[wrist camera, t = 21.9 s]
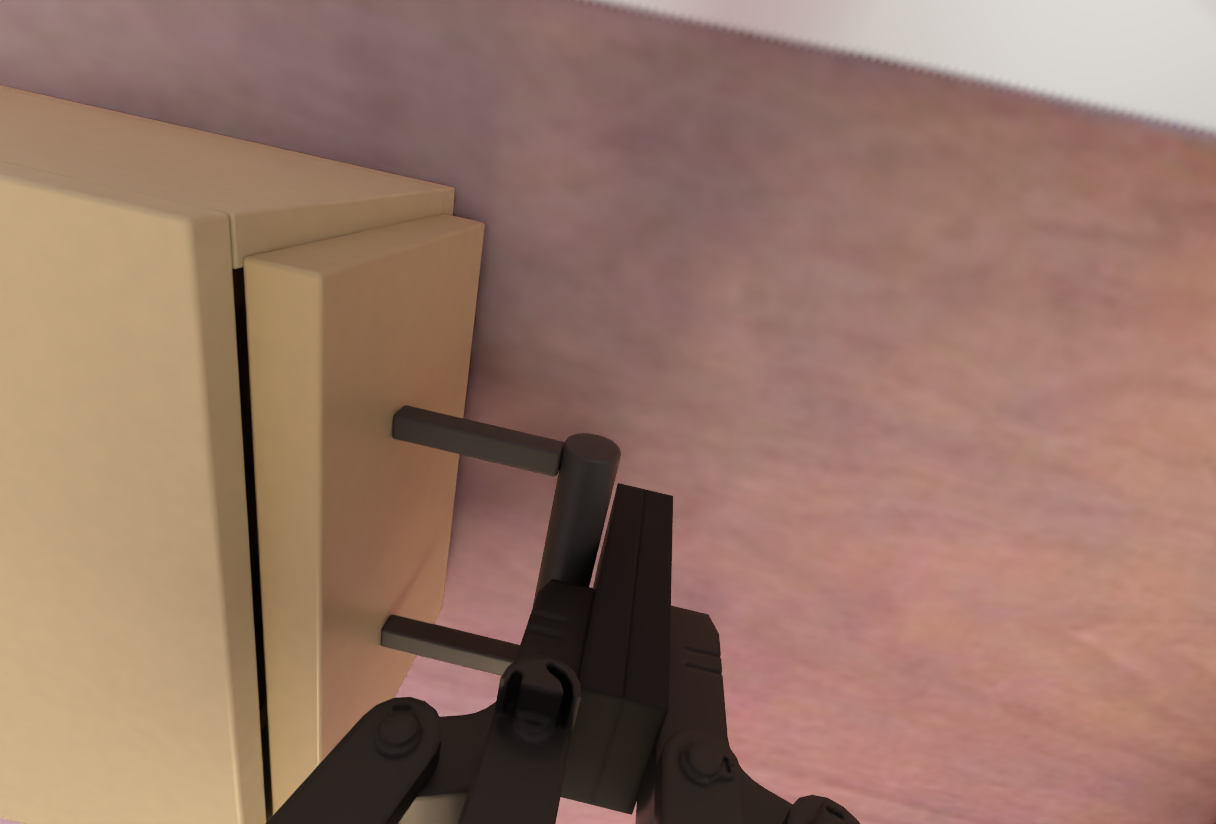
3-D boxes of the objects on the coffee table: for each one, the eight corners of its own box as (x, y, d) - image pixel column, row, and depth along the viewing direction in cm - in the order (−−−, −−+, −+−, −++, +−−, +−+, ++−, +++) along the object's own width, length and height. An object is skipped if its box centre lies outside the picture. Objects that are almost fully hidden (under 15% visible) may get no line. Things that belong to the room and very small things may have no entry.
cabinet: (456, 187, 16) (188, 218, 7) (419, 595, 22) (246, 883, 13) (-83, 66, 16) (-955, -44, 8) (24, 499, 22) (-400, 718, 14)
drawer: (663, 262, 15) (650, 350, 8) (574, 638, 21) (519, 888, 14) (-36, 104, 16) (-623, 57, 9) (55, 513, 21) (-260, 691, 14)
